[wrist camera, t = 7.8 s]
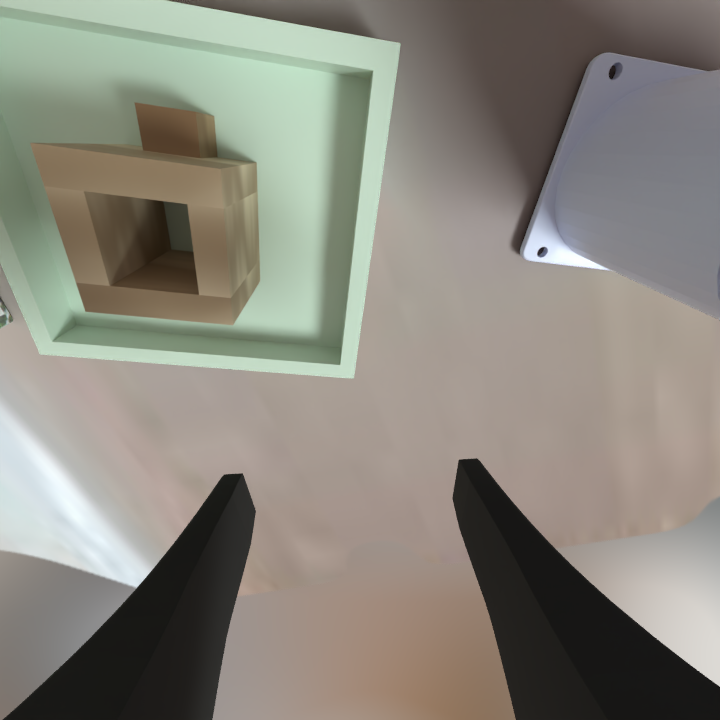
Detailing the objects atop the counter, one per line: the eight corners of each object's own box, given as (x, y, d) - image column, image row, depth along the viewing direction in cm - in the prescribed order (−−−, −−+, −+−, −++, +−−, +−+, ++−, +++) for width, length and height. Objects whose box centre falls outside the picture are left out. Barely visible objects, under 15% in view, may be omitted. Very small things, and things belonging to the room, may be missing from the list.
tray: (392, 59, 13) (400, 43, 11) (352, 355, 20) (353, 378, 18) (-56, -21, 12) (-140, -56, 10) (73, 331, 19) (40, 354, 17)
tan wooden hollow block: (260, 281, 17) (232, 325, 13) (151, 269, 16) (85, 312, 12) (255, 122, 14) (215, 111, 9) (117, 101, 13) (9, 79, 9)
